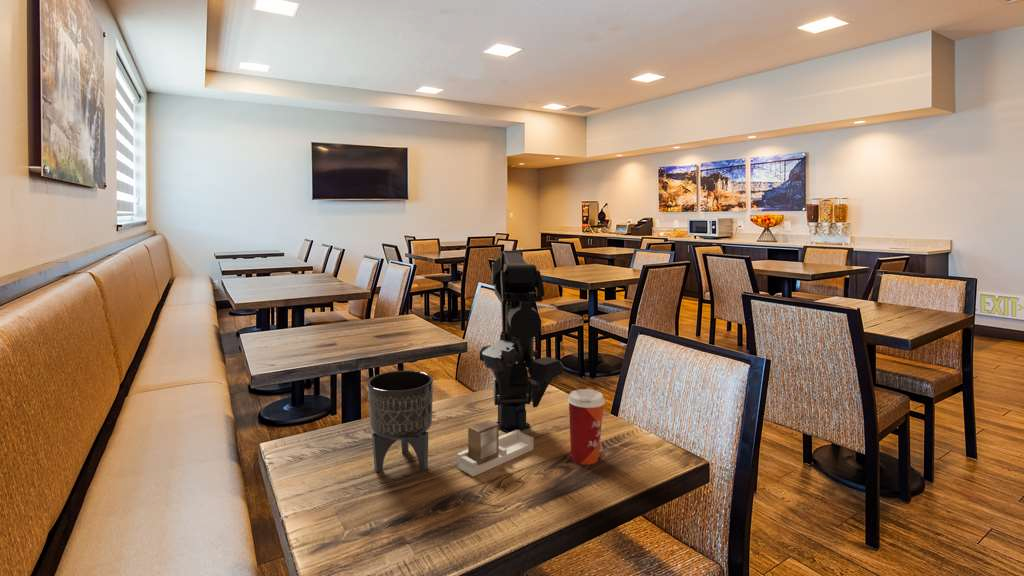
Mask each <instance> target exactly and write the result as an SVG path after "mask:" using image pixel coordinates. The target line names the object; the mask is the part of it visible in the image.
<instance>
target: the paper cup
mask: <svg viewBox="0 0 1024 576" xmlns="http://www.w3.org/2000/svg"><path fill="white" fill-rule="evenodd" d="M567 402H568V407H569V409H568V411H569V414H568V415H569V441H570V456H571V457H570V458H571V460H572V461H573V463H576V464H579V465H583V466H584V465H585V466H589V465H594V464H596V463H597V462H598V460H599V455H600V453H599V452H600V445H601V436H602V433H601V432H602V426H603V425H602V423H603V413H604V405H605V404H606V399H605V398H604V395H603V393H601V392H600V391H597V390H595V389H587V388H586V389H585V388H580V389H575V390H572V391H571V392H570V393H569V395H568V397H567Z"/></svg>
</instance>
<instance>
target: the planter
mask: <svg viewBox="0 0 1024 576" xmlns="http://www.w3.org/2000/svg"><path fill="white" fill-rule="evenodd" d="M366 389H367V400H368V401H367V403H368V411H369V413H368V414H369V423H370V429H371V431H372V432H373V433H371V441H372V452H373V462H374V463H373V464H374V471H375V472H376V473H379V472H383V470H384V469H383V468H384V461H385V459H386V454H387V452H388V450H389V449H390V448H391V447H392V445H393V444H395V442H397V441H400V443H401V454H409V450H410V449H409V448H410V446H411V447H412V449H413V450H414V452H415V455H416V458H417V462H418V469H419V471H422V472H423V471H424V472H425V471H426V470H427V469H428V467H429V460H428V459H429V432H428V430H429V429H430V427H431V426H432V423H433V398H434V395H433V394H434V379H433V377H432V375H430V374H428V373H426V372H423V371H418V370H393V371H392V370H391V371H387V372H382V373H378V374H376V375H374V376H372V377H370V378H369V379H368V380H367V382H366ZM409 445H410V446H409Z"/></svg>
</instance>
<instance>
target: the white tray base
mask: <svg viewBox="0 0 1024 576" xmlns="http://www.w3.org/2000/svg"><path fill="white" fill-rule="evenodd" d="M534 443H535V442H534V437H532V436H531V435H529V434H526V433H525V432H524V433H523V432H521V430H518V429H517V430H514V431H512V432H510V433H508V432H507V433H504V434H502V435H500V436H499V457H496V458H494V459H492V460H489V461H487V462H485V463H483V464H480V465H477V462H476V461H474V460H472V459H471V458H469V457H468V448H466V449H465V450H463V451H460V452H457V453H456V468H457V469H459V470H461V471H463V472H464V473H466V474H468V475H469V476H471V477H475V476H478V475H480V474H482V473H484V472H486V471H489V470H491V469H492V468H495V467H498V466H500V465H502V464H504V463H507V462H509V461H512V460H513V459H515V458H518V457H520V456H522V455H525V454H526V453H528V452H531V451H533V450H534Z"/></svg>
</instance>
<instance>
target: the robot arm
mask: <svg viewBox="0 0 1024 576" xmlns="http://www.w3.org/2000/svg"><path fill="white" fill-rule="evenodd" d="M523 255H524V254H523V251H520V250H503V251H500V256H499V258H497V259H496V260H495V261H493V263H492V265H491V285H492V286H493V287H494V295H496V297H497V299H498V301H500V305H501V332H500V335H499V341H497V342H494V343H492V344H490V345H485V346H483V347H482V348H481V349H480V351H479V361H482V362H483V365H484V366H485V367H486V368H487V369H490V370H491V371H492V372H493V375H494V378H495V379H494V380H493V381H494V382H493V388H492V389H493V392H492V393H493V394H492V395H493V403H494V406H497V421H495V423H497V424H499V430H501V431H504V432H507V433H510V432H512V431H514V430H517V429H518V430H520V431H522V430H524V429H526V428H530V426H531V424H530V423H528V422H527V410H526V405H531V402H532V408H537V407H539V404H540V403H541V401H542V398H543V397H544V395H545V392H546V390H547V388H548V387H549V385H550V384H551V382H552V380H553V379H556V378H557V377H558V376H561V375H563V372H564V371H563V362H562V361H560V359H555V358H553V357H549V356H545V357H541V358H537V359H534V357H535V358H536V357H538V354H539V353H538V352H539V351H538V350H536V349H535V348H534V347H535V342H534V341H535V338H536V337H539V332H540V331H541V328H542V319H541V316H540V314H539V313H538V311H537V310H536V308H535V303H536V302H537V303H538V302H543V297H544V296H545V288H544V287H545V286H544V280H543V275H542V274H541V271H540V270H538V269H537V265H536V264H533V263H527V262H526V260H524V256H523Z"/></svg>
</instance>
